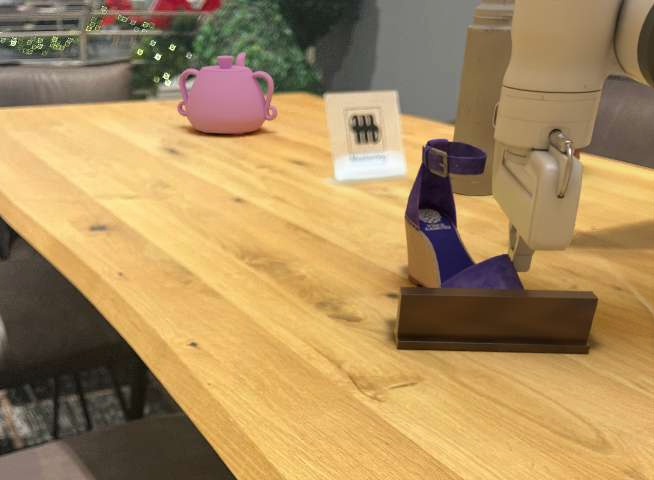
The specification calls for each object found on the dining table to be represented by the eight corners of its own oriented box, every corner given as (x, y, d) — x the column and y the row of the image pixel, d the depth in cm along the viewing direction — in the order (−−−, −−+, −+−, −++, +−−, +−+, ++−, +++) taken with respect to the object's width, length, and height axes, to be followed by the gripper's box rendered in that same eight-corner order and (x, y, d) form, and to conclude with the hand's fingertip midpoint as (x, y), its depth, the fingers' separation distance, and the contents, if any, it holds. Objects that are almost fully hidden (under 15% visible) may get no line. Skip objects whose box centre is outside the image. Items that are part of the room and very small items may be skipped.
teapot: (290, 122, 171) (291, 51, 163) (267, 140, 154) (267, 62, 146) (197, 117, 175) (194, 48, 167) (164, 135, 158) (159, 58, 150)
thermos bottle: (446, 182, 126) (473, -23, 110) (496, 184, 125) (529, -22, 109) (446, 194, 120) (474, -21, 104) (498, 196, 119) (535, -21, 103)
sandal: (481, 341, 74) (510, 177, 65) (388, 275, 89) (401, 135, 80) (552, 330, 76) (588, 170, 68) (449, 268, 91) (468, 131, 83)
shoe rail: (577, 336, 75) (589, 287, 72) (588, 354, 72) (602, 302, 69) (393, 332, 76) (398, 282, 73) (397, 349, 72) (402, 298, 69)
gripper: (613, 143, 63) (574, 305, 71) (552, 104, 79) (526, 239, 87) (536, 142, 63) (506, 303, 71) (491, 104, 80) (471, 238, 88)
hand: (517, 267), depth 79 cm, fingers closed
